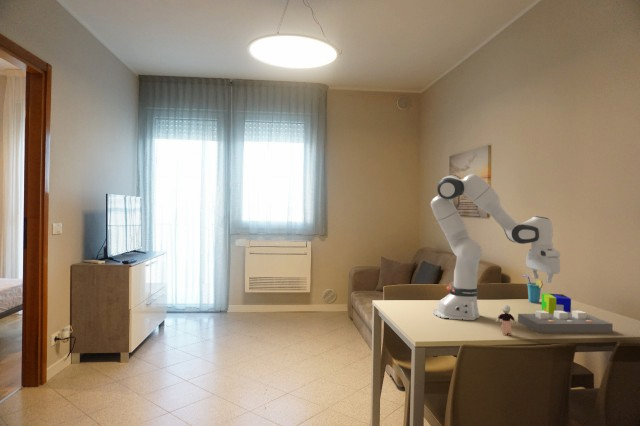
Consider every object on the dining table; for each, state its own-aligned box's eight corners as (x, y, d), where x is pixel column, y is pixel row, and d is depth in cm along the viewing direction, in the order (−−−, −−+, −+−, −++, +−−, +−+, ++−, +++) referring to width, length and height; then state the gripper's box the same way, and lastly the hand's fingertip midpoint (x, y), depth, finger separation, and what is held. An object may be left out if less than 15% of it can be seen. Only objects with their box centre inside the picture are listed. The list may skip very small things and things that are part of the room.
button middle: (559, 319, 180) (559, 312, 180) (553, 316, 184) (553, 310, 184) (567, 319, 181) (567, 312, 181) (561, 316, 185) (561, 310, 185)
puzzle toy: (570, 318, 195) (571, 298, 195) (548, 317, 197) (549, 297, 197) (562, 313, 205) (562, 294, 205) (541, 312, 207) (542, 293, 207)
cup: (517, 299, 234) (518, 274, 234) (526, 298, 237) (527, 273, 237) (539, 305, 221) (539, 278, 221) (548, 304, 224) (548, 278, 224)
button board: (538, 332, 172) (538, 323, 172) (517, 322, 188) (518, 313, 188) (612, 332, 174) (612, 323, 174) (585, 322, 190) (586, 313, 190)
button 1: (540, 319, 180) (540, 312, 180) (535, 316, 184) (535, 310, 184) (548, 319, 180) (549, 312, 180) (543, 316, 184) (543, 310, 184)
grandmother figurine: (511, 333, 171) (512, 304, 171) (516, 336, 167) (517, 306, 167) (494, 333, 171) (495, 304, 170) (498, 335, 167) (499, 306, 166)
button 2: (578, 319, 181) (578, 312, 181) (572, 316, 185) (572, 310, 185) (586, 319, 181) (586, 313, 181) (580, 316, 185) (580, 310, 185)
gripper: (522, 248, 194) (522, 276, 194) (549, 253, 173) (549, 284, 173) (534, 248, 194) (534, 276, 194) (563, 253, 174) (563, 284, 174)
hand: (541, 280), depth 184 cm, fingers open, 8 cm apart
